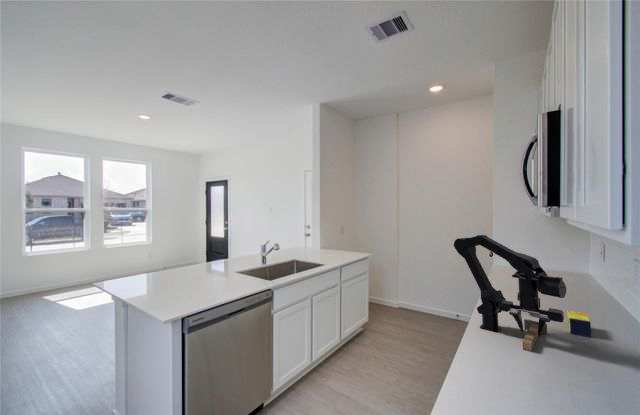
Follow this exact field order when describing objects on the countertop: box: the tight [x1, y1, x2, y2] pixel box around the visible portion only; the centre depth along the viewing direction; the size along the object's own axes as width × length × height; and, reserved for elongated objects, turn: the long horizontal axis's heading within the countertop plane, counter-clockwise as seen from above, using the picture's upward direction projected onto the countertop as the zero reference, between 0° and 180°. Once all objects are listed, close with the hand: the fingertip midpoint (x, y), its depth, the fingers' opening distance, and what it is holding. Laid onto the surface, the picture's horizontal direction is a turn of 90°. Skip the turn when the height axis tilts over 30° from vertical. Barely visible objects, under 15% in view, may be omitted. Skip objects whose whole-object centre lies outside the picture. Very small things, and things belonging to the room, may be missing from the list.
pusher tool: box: [521, 318, 548, 353], centre depth 100 cm, size 21×7×4 cm, turn 135°
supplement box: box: [566, 310, 592, 338], centre depth 107 cm, size 6×6×11 cm
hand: (530, 333), depth 99 cm, fingers open, 5 cm apart
